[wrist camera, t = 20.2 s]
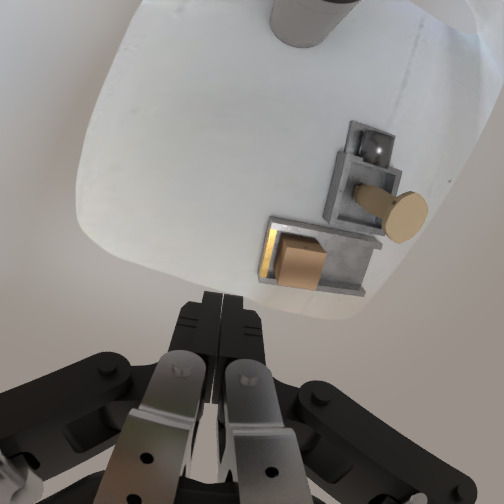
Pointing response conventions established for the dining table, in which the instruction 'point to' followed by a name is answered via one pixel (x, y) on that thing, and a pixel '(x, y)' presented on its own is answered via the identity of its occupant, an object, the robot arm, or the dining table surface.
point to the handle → (393, 210)
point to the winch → (361, 177)
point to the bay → (337, 260)
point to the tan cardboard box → (299, 262)
